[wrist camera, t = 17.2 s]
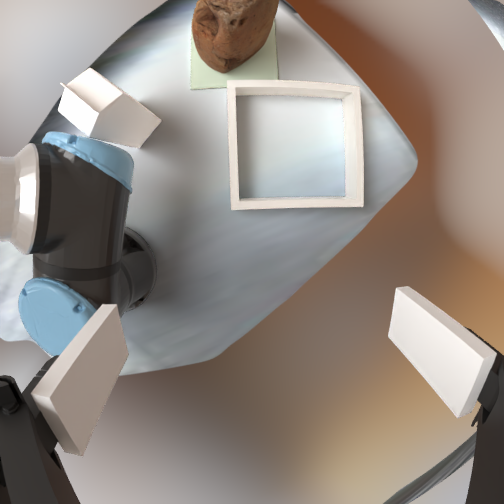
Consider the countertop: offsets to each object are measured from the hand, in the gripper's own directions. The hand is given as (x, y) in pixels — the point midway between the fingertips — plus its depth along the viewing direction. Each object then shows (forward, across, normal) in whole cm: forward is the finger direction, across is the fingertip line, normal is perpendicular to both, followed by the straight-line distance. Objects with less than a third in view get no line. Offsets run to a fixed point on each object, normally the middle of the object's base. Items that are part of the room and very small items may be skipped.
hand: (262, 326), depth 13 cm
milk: (+37, -16, +16) cm, 43 cm away
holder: (+37, +9, +11) cm, 39 cm away
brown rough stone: (+36, 0, +28) cm, 46 cm away
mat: (+37, 0, +28) cm, 46 cm away
